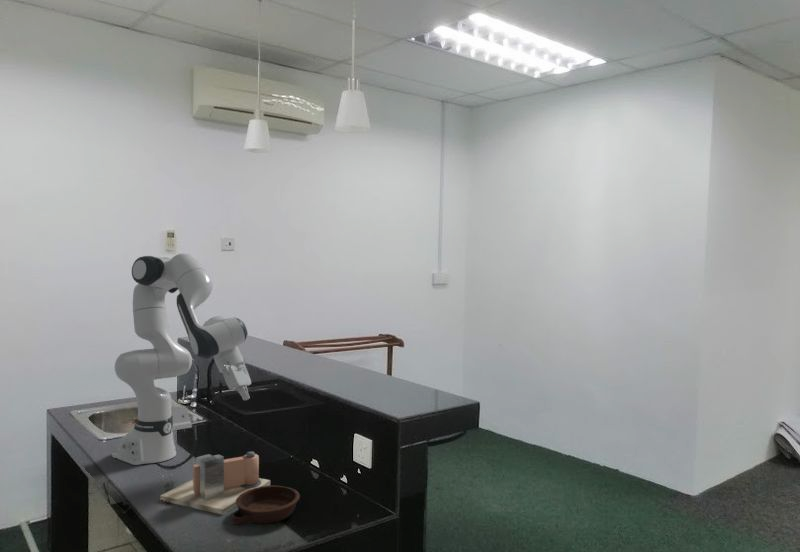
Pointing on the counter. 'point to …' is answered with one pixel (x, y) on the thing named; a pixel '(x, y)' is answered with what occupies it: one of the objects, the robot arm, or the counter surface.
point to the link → (234, 471)
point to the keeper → (211, 476)
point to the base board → (216, 505)
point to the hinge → (180, 418)
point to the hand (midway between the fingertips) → (246, 399)
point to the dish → (265, 504)
